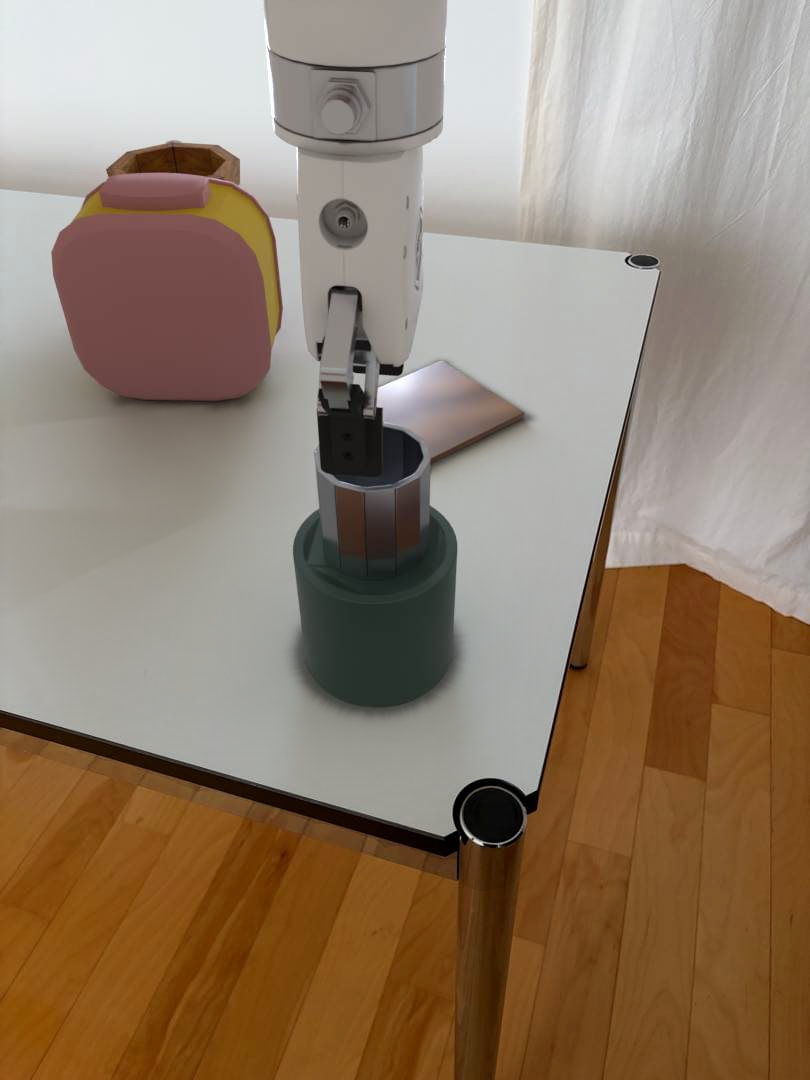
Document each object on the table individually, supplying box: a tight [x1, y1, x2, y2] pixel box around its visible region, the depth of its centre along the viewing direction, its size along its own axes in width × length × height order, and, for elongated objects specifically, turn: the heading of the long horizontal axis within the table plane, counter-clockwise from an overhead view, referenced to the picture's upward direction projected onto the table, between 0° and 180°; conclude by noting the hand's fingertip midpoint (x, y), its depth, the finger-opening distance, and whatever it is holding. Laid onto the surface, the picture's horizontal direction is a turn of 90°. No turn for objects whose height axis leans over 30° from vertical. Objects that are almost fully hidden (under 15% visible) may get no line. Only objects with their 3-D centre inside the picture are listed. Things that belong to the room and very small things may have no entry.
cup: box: [313, 422, 432, 580], centre depth 54 cm, size 7×7×7 cm
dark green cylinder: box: [292, 505, 458, 708], centre depth 60 cm, size 10×10×10 cm
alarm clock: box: [50, 173, 284, 402], centre depth 83 cm, size 18×11×19 cm, turn 88°
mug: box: [105, 139, 241, 187], centre depth 99 cm, size 20×14×15 cm
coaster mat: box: [377, 360, 525, 465], centre depth 85 cm, size 12×12×1 cm
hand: (365, 418), depth 50 cm, fingers open, 9 cm apart
